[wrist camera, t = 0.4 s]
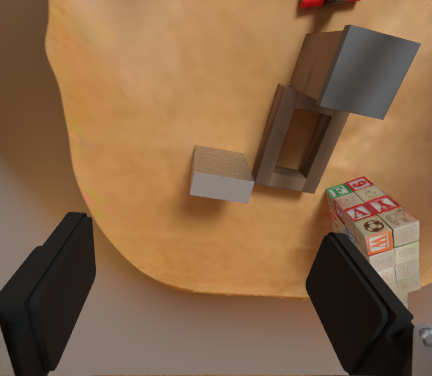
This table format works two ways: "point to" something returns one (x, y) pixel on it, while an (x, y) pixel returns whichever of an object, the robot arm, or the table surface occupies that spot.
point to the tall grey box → (220, 175)
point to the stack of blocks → (378, 232)
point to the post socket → (331, 97)
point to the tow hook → (322, 2)
